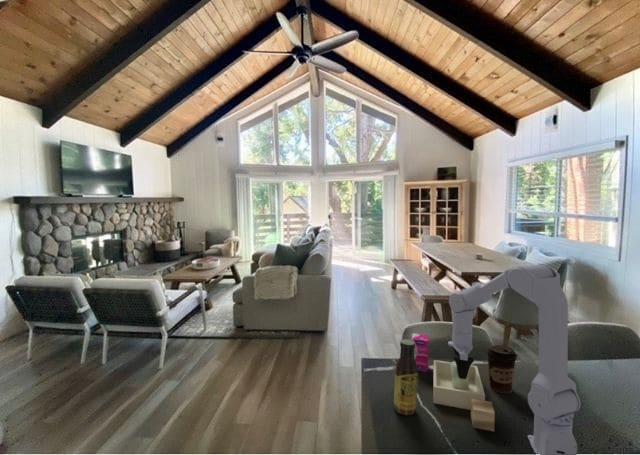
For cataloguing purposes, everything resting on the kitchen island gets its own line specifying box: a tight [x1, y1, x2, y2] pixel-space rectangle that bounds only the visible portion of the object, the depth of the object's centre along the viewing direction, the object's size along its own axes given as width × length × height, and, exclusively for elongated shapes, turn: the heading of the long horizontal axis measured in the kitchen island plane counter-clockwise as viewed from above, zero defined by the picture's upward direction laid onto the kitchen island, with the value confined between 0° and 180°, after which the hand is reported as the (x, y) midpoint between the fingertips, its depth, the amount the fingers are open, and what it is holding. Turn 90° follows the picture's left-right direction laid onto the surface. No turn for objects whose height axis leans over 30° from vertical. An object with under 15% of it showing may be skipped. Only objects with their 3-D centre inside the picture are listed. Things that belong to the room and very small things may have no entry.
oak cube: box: [470, 399, 496, 432], centre depth 87 cm, size 5×5×5 cm
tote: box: [432, 359, 486, 411], centre depth 102 cm, size 18×14×5 cm
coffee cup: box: [486, 344, 518, 394], centre depth 103 cm, size 9×8×13 cm
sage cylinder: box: [451, 361, 469, 390], centre depth 103 cm, size 5×5×7 cm
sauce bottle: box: [393, 338, 419, 416], centre depth 92 cm, size 7×6×20 cm
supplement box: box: [411, 332, 430, 373], centre depth 116 cm, size 6×6×12 cm
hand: (461, 372), depth 103 cm, fingers open, 7 cm apart
